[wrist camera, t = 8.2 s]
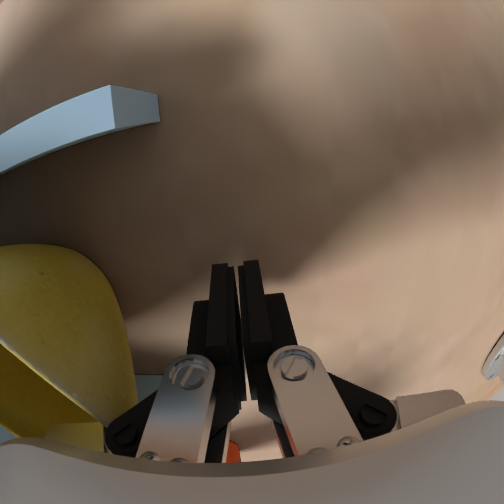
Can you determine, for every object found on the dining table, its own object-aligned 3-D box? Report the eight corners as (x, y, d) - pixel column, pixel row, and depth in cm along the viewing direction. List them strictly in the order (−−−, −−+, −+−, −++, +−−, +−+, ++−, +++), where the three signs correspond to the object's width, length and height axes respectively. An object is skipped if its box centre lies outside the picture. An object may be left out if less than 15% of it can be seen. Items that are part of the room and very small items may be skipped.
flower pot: (85, 143, 8) (-70, 216, 2) (208, 333, 13) (203, 475, 7) (-18, 249, 10) (-89, 327, 3) (80, 370, 14) (51, 461, 8)
